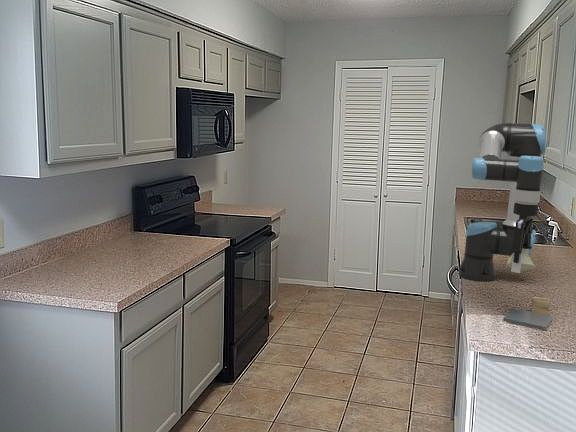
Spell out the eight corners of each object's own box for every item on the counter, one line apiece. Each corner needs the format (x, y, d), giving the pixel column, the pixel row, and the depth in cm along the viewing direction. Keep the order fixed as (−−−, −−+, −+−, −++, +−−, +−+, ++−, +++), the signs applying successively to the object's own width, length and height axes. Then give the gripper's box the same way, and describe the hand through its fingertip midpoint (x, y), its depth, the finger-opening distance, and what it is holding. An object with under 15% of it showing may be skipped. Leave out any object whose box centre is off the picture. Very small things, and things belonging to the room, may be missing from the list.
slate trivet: (512, 311, 199) (512, 308, 199) (552, 319, 192) (553, 316, 192) (503, 321, 189) (503, 317, 188) (545, 330, 182) (546, 327, 181)
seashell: (498, 260, 195) (514, 248, 197) (512, 281, 194) (528, 269, 197) (512, 256, 187) (529, 243, 190) (527, 278, 187) (543, 265, 189)
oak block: (530, 310, 202) (532, 296, 201) (546, 312, 200) (547, 298, 199) (532, 314, 197) (533, 300, 196) (547, 316, 196) (549, 302, 195)
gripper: (522, 199, 199) (515, 262, 203) (506, 204, 182) (498, 273, 186) (545, 201, 195) (537, 266, 199) (531, 207, 178) (523, 277, 181)
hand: (518, 269), depth 192 cm, fingers closed on seashell, 8 cm apart
